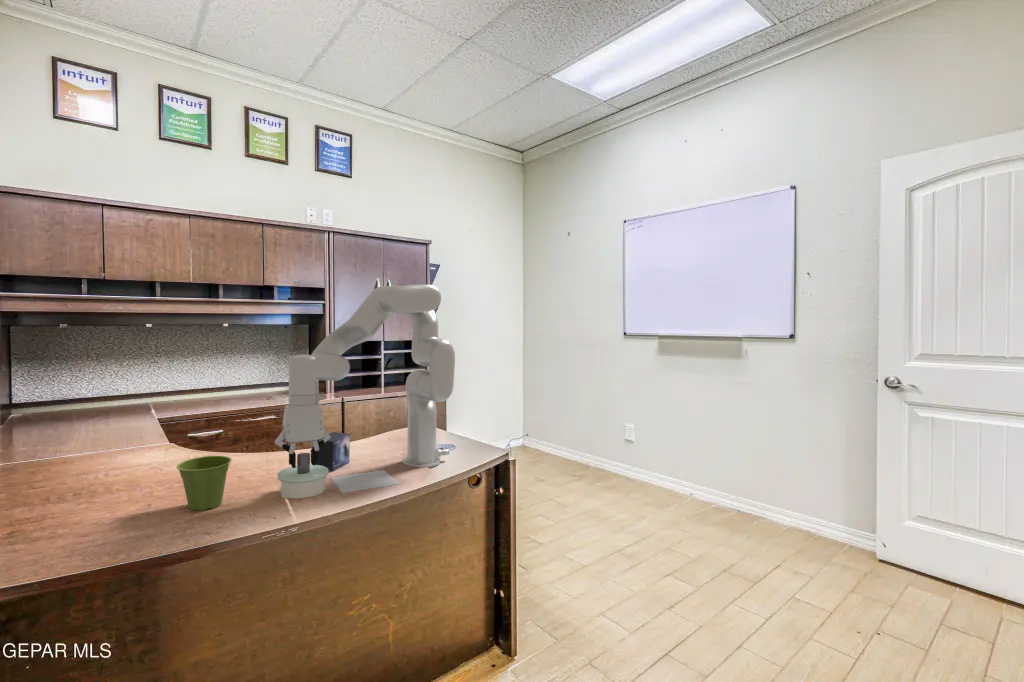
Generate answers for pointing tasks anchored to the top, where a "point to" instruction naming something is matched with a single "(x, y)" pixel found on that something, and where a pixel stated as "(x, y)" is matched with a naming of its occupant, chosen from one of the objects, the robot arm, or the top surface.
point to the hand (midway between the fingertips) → (303, 464)
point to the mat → (363, 481)
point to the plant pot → (204, 480)
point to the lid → (302, 471)
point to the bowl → (302, 489)
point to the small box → (334, 451)
